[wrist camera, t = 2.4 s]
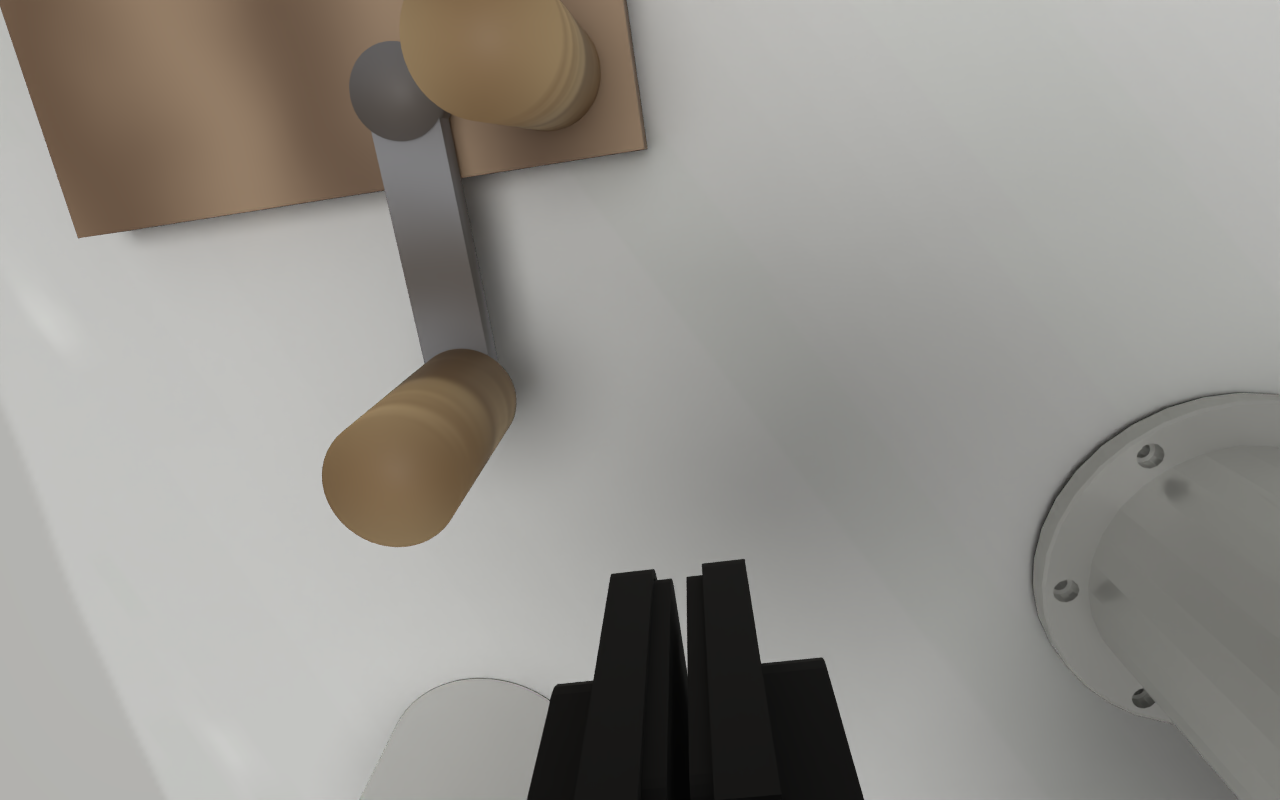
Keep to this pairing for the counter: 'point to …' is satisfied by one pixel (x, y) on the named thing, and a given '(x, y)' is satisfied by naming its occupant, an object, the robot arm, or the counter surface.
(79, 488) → the counter surface
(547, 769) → the robot arm
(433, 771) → the cup
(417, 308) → the hinged leg
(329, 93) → the stool seat
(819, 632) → the counter surface
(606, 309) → the counter surface
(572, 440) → the counter surface
